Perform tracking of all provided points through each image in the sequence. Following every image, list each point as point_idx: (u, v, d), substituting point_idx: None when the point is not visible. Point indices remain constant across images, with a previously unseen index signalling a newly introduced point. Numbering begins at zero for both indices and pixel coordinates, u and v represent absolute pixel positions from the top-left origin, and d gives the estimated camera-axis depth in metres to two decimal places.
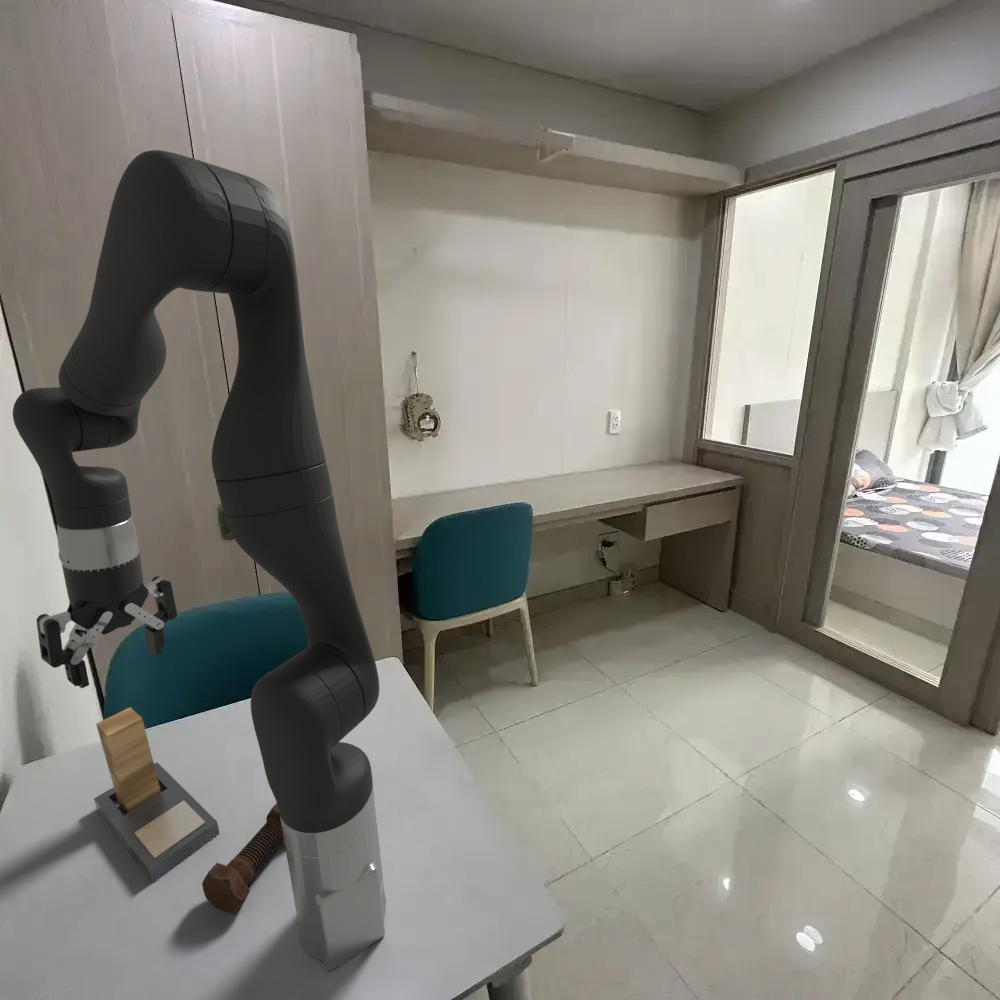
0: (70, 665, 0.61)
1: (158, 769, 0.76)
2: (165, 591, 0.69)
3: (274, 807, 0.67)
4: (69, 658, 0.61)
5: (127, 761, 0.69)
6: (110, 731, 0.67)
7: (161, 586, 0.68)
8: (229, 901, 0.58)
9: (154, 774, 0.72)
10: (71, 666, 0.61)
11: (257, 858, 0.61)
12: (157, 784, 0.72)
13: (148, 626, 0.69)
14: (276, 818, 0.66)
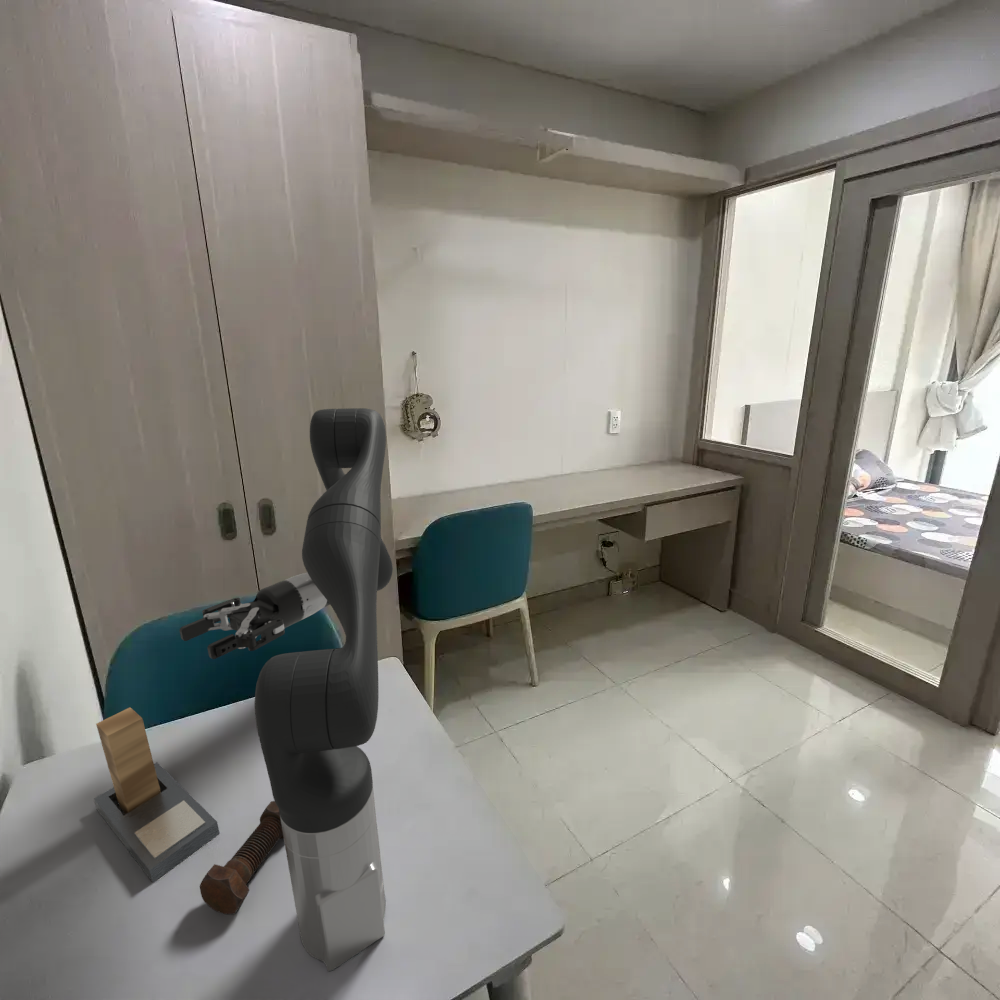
0: None
1: (158, 769, 0.76)
2: (273, 621, 0.79)
3: (268, 807, 0.67)
4: None
5: (127, 761, 0.69)
6: (110, 731, 0.67)
7: (277, 618, 0.80)
8: (229, 901, 0.58)
9: (154, 774, 0.72)
10: None
11: (254, 858, 0.61)
12: (157, 784, 0.72)
13: None
14: (270, 818, 0.66)
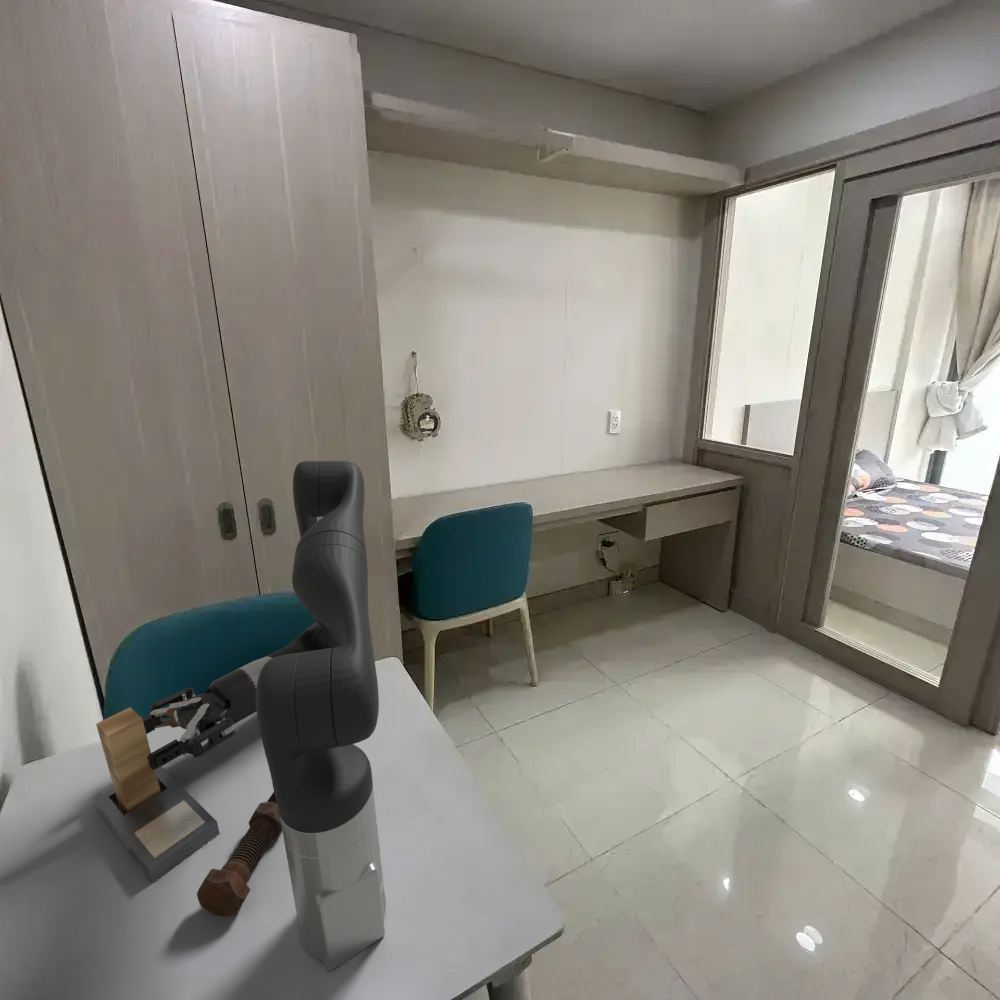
0: (149, 715, 0.77)
1: (158, 769, 0.76)
2: (221, 722, 0.74)
3: (257, 809, 0.67)
4: None
5: (127, 761, 0.69)
6: (110, 731, 0.67)
7: (227, 718, 0.75)
8: (230, 902, 0.57)
9: (154, 774, 0.72)
10: (147, 717, 0.77)
11: (251, 858, 0.61)
12: (157, 784, 0.72)
13: None
14: (261, 819, 0.66)
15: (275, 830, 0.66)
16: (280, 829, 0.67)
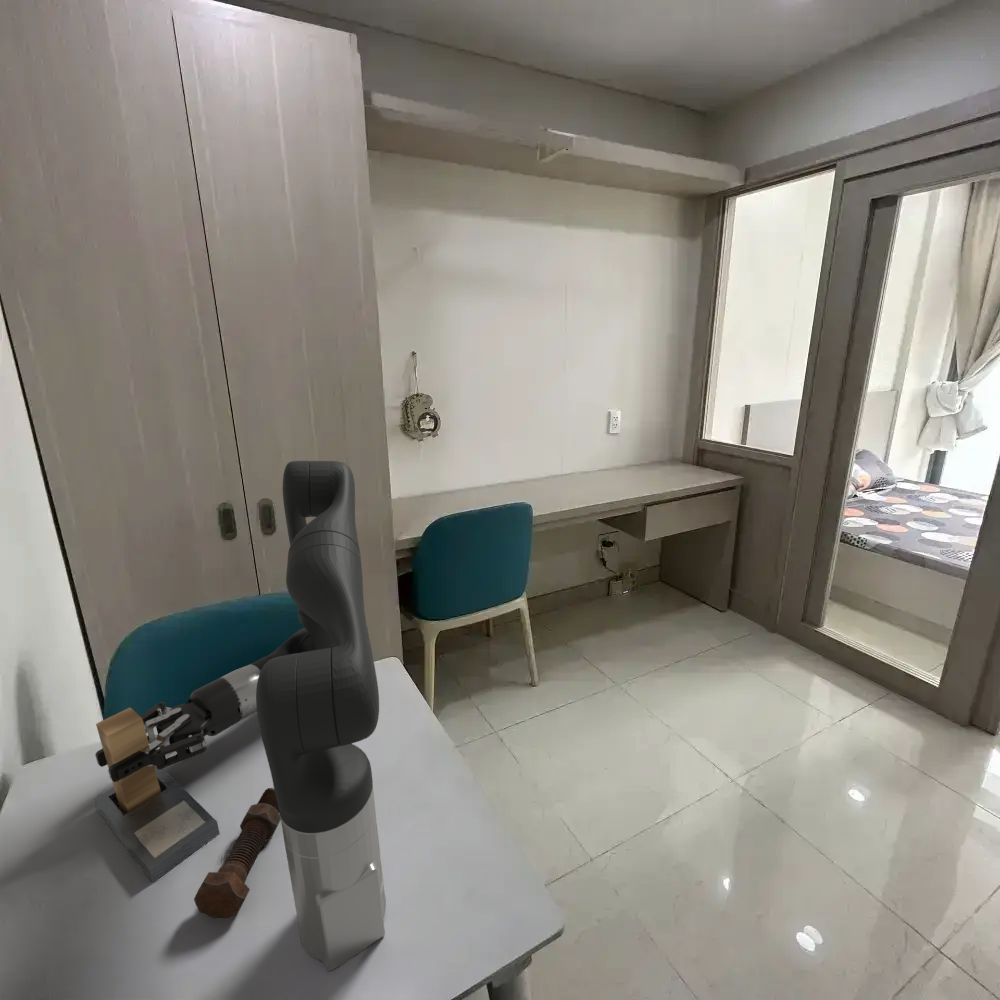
0: None
1: (158, 769, 0.76)
2: (192, 737, 0.72)
3: (249, 811, 0.66)
4: None
5: None
6: (110, 731, 0.67)
7: (199, 733, 0.72)
8: (230, 904, 0.57)
9: (154, 774, 0.72)
10: None
11: (247, 859, 0.61)
12: (157, 784, 0.72)
13: None
14: (254, 820, 0.66)
15: (268, 831, 0.66)
16: (273, 829, 0.67)
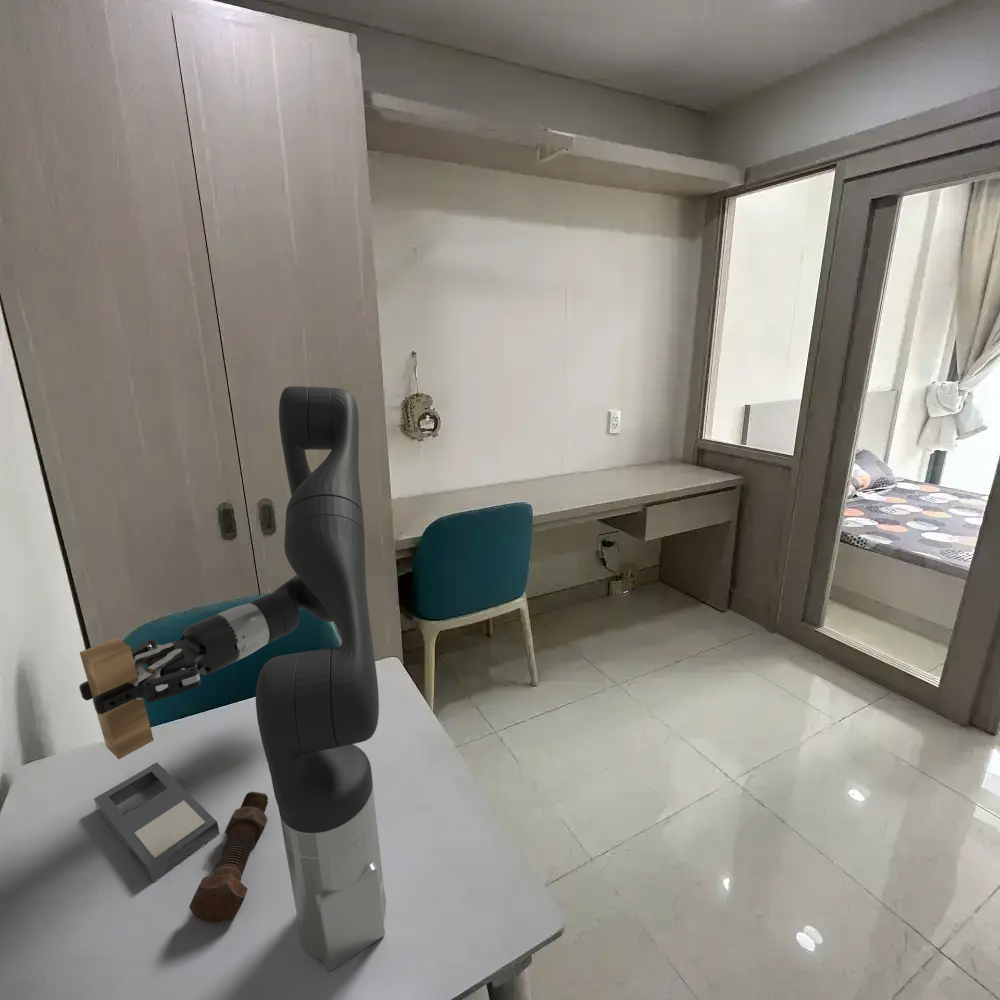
0: None
1: (158, 769, 0.76)
2: (185, 670, 0.66)
3: (234, 815, 0.66)
4: None
5: None
6: (95, 658, 0.61)
7: (193, 666, 0.67)
8: (229, 905, 0.57)
9: (144, 710, 0.66)
10: None
11: (240, 861, 0.61)
12: (147, 721, 0.67)
13: None
14: (241, 824, 0.65)
15: (256, 832, 0.66)
16: (261, 830, 0.66)
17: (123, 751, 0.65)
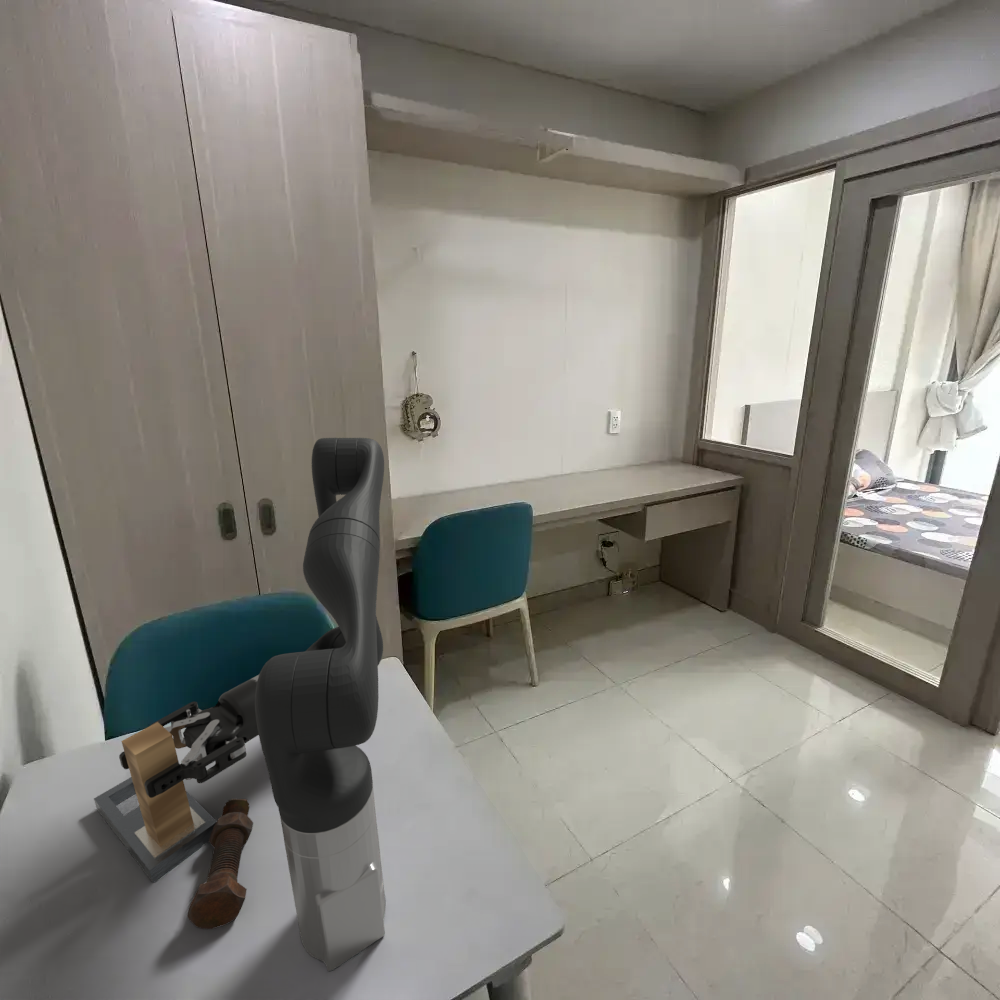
0: None
1: None
2: (231, 743, 0.65)
3: (219, 823, 0.65)
4: None
5: None
6: (138, 750, 0.61)
7: (237, 738, 0.66)
8: (230, 907, 0.57)
9: (184, 795, 0.65)
10: None
11: (234, 865, 0.61)
12: (187, 806, 0.66)
13: None
14: (227, 830, 0.65)
15: (243, 837, 0.66)
16: (248, 834, 0.66)
17: (164, 838, 0.64)
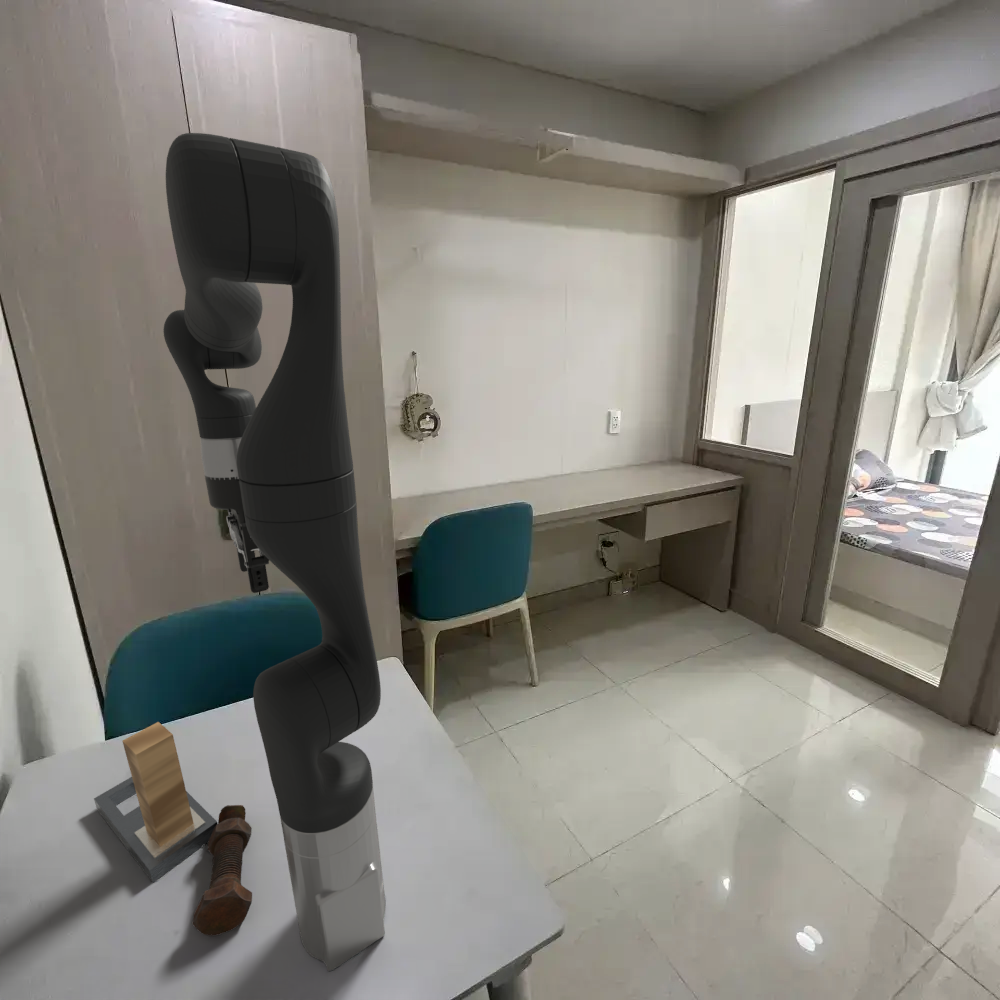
0: None
1: None
2: (242, 533, 0.65)
3: (218, 829, 0.64)
4: None
5: (156, 782, 0.62)
6: (139, 749, 0.61)
7: (240, 525, 0.65)
8: (237, 911, 0.56)
9: (185, 795, 0.66)
10: None
11: (237, 869, 0.60)
12: (188, 806, 0.66)
13: None
14: (226, 836, 0.64)
15: (243, 842, 0.65)
16: (247, 839, 0.65)
17: (164, 838, 0.64)
